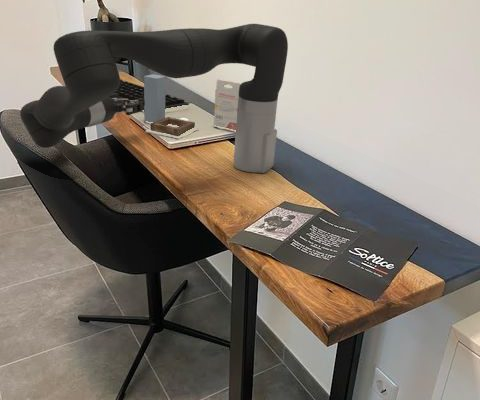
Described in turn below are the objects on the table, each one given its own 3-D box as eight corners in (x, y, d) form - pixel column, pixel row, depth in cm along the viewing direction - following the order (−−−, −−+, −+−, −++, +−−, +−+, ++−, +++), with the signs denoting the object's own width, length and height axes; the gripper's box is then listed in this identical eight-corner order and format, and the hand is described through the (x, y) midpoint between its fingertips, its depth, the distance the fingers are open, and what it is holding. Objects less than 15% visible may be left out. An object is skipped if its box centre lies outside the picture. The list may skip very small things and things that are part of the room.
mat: (199, 129, 146) (199, 128, 146) (178, 139, 136) (178, 138, 136) (167, 123, 150) (168, 121, 150) (145, 132, 140) (145, 130, 140)
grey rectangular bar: (164, 122, 151) (165, 76, 145) (156, 125, 147) (157, 78, 141) (152, 119, 152) (152, 74, 147) (144, 122, 149) (144, 76, 143)
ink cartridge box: (244, 129, 150) (249, 81, 144) (237, 133, 146) (241, 83, 140) (220, 124, 154) (223, 77, 148) (212, 127, 150) (215, 79, 144)
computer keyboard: (188, 110, 168) (188, 99, 166) (151, 117, 157) (151, 105, 156) (113, 85, 195) (113, 75, 193) (77, 89, 184) (76, 78, 182)
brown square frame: (194, 128, 145) (194, 122, 145) (178, 136, 138) (178, 129, 137) (168, 123, 149) (168, 116, 148) (150, 130, 141) (150, 123, 140)
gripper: (70, 119, 127) (110, 108, 140) (115, 130, 122) (152, 117, 136) (68, 90, 124) (109, 81, 137) (114, 100, 119) (152, 90, 132)
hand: (130, 99), depth 136 cm, fingers open, 8 cm apart
